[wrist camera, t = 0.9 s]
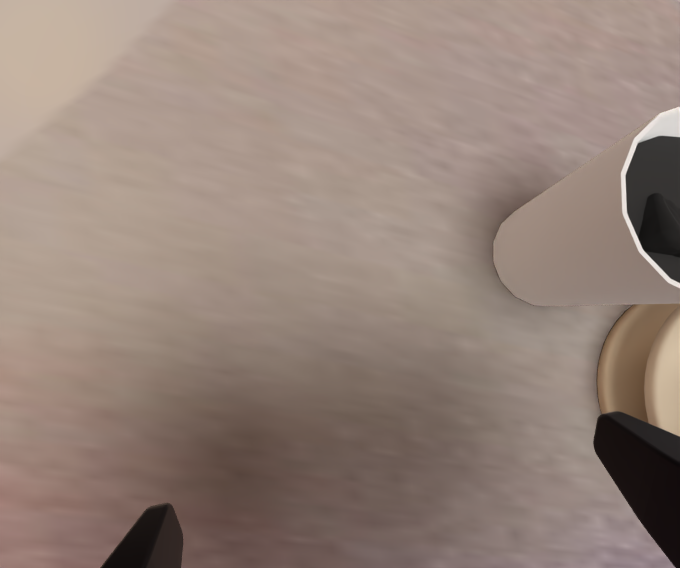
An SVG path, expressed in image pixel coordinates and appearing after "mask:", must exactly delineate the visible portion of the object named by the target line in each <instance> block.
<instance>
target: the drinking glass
mask: <svg viewBox="0 0 680 568" xmlns="http://www.w3.org/2000/svg"><path fill="white" fill-rule="evenodd" d="M493 263H494V265H495V268H496V270H497V273H498V275H499V278H500V280H501V282H502V283H503V284H504V285H505V286H506V287H507V288H508V290H509V291H510V292H511V293H512V294H513V295H514V296H515V297H517V298H519V299H521V300H523V301H525V302H527V303H530V304H532V305H536V306H584V305H632V304H680V107H677V108H674V109H671V110H669V111H666V112H663V113H660V114H658V115H657V116H655V117H654V118H652V119H651V120H649V121H648V122H646V123H645V124H643V125H642V126H640V127H639V128H637V129H636V130H634V131H633V132H631V133H630V134H629V135H627V136H626V137H624V138H623V139H621V140H620V141H618V142H617V143H615V144H614V145H612V146H611V147H609V148H608V149H606V150H605V151H603V152H602V153H600V154H599V155H597V156H596V157H594V158H593V159H591V160H590V161H588V162H587V163H586V164H584V165H583V166H581V167H580V168H578V169H577V170H575V171H574V172H572V173H571V174H569V175H568V176H566V177H565V178H563V179H562V180H560V181H559V182H557V183H556V184H554V185H553V186H551V187H550V188H548V189H547V190H545V191H544V192H543V193H541V194H540V195H538V196H537V197H535V198H534V199H532V200H531V201H529V202H528V203H526V204H525V205H523V206H522V207H520V208H519V209H517V210H516V211H514V212H513V213H512V214H511V215H510V216H509V217H508V218H507V219H506V220H505V221H504V222H503V223H502V224H501V225H500V227H499V230H498V232H497V235H496V237H495V239H494V242H493Z"/></svg>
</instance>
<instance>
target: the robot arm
mask: <svg viewBox="0 0 680 568" xmlns="http://www.w3.org/2000/svg"><path fill="white" fill-rule="evenodd" d="M593 444H594V449H595V452H596V454H597V456H598V457H599V459H600V460H601V462H602V464H603V465H604V467H605V468H606V470H607V471H608V473H609V474H610V476H611V477H612V479H613V481H614V482H615V484H616V485H617V487H618V488H619V490H620V491H621V493H622V494H623V496H624V498H625V499H626V501H627V502H628V504H629V505H630V507H631V508H632V510H633V511H634V513H635V514H636V516H637V517H638V519H639V520H640V522H641V523H642V524H643V526H644V527H645V529H646V530H647V531H648V533H649V534H650V535H651V537H652V538H653V539H654V540H655V542H656V543H657V544H658V546H659V547H660V548H661V549H662V551H663V552H664V553H665V555H666V556H667V557H668V558H669V560H670V561H671V562H672V564H673V565H674V566H675V568H680V436H677V435H675V434H673V433H670V432H668V431H666V430H663V429H661V428H659V427H656V426H654V425H652V424H649V423H647V422H645V421H642V420H640V419H638V418H635V417H633V416H631V415H628V414H626V413H623V412H620V411H613V412H609V413H604V414H601V415H600V416H599V417H598V419H597V424H596V430H595V435H594V441H593ZM182 550H183V534H182V529H181V527H180V524H179V521H178V519H177V516H176V514H175V511H174V508H173V506H172V505H171V504H170V503H164V504H159V505H155V506H151V507H149V508H147V509H146V510H145V511H144V513H143V514H142V515H141V516H140V518H139V519H138V520H137V522H136V523H135V524H134V525H133V527H132V528H131V529H130V531H129V532H128V533H127V534H126V536H125V537H124V538H123V539H122V541H121V542H120V543H119V545H118V546H117V547H116V548H115V550H114V551H113V552H112V554H111V555H110V556H109V557H108V559H107V560H106V561H105V563H104V564H103V565H102V566H101V568H181V562H182Z"/></svg>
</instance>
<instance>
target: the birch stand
mask: <svg viewBox="0 0 680 568" xmlns="http://www.w3.org/2000/svg"><path fill="white" fill-rule="evenodd" d="M597 389H598V398H599V404H600V409H601V412H602V414H604V413H609V412H613V411H620V412H623V413H626V414H628V415H631V416H633V417H635V418H638V419H640V420H642V421H645V422H647V423H649V424H652V425H654V426H656V427H659V428H661V429H663V430H666V431H668V432H670V433H673V434H675V435H677V436H680V304H634V305H633V306H631V307H630V308H629V309H628V310H627V311H626V312H625V313H624V314H623V315H622V316H621V317H620V318H619V319H618V320H617V322H616V323H615V325H614V326H613V328H612V329H611V331H610V332H609V334H608V337H607V339H606V341H605V343H604V346H603V349H602V352H601V355H600V360H599V365H598V375H597Z"/></svg>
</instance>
